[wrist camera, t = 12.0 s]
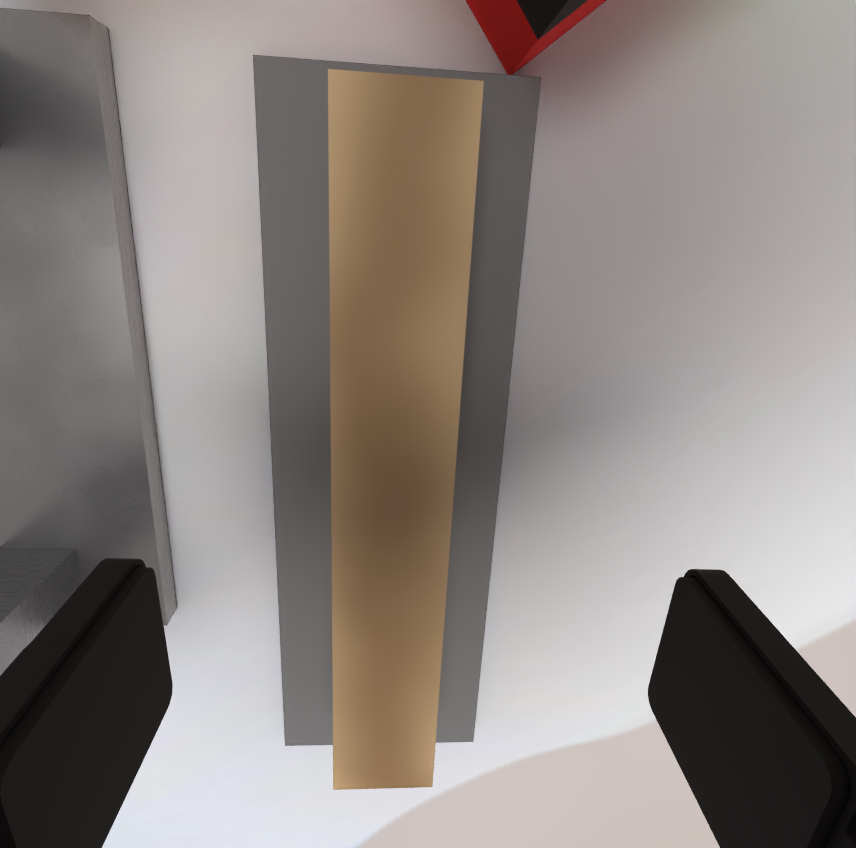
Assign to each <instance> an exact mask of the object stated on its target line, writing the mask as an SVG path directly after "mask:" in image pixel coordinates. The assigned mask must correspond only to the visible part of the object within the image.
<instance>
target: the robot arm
mask: <svg viewBox="0 0 856 848" xmlns="http://www.w3.org/2000/svg"><path fill="white" fill-rule="evenodd" d="M171 696H172V678H171V672H170V665H169V659H168V652H167V646H166V639H165V633H164V626H163V620H162V613H161V607H160V600H159V594H158V587H157V581H156V575H155V571H154V569H153V568H151V567H146V566H145V563H144V562H143V560H141V559H129V558H106V559H103V560H102V561H101V562H100V563H99V564H98V565H97V566H96V567H95V569H94V570H93V571H92V572H91V573H90V574H89V575H88V577H87V578H86V579H85V580H84V581H83V582H82V584H81V585H80V586H79V587H78V588H77V589H76V591H75V592H74V593H73V594H72V595H71V596H70V598H69V599H68V600H67V601H66V602H65V603H64V604H63V606H62V607H61V608H60V609H59V610H58V611H57V613H56V614H55V615H54V616H53V617H52V618H51V620H50V621H49V622H48V623H47V624H46V625H45V627H44V628H43V629H42V630H41V631H40V632H39V633H38V635H37V636H36V637H35V638H34V639H33V640H32V642H31V643H30V644H28V645H27V646H26V647H25V648H24V649H23V650H22V651H21V652H20V654H19V655H18V656H17V657H16V658H15V659H14V661H13V662H12V663H11V664H10V665H9V666H8V668H7V669H6V670H5V671H4V672H3V673H2V674H1V676H0V848H102V846H103V844H104V842H105V840H106V838H107V835H108V833H109V831H110V829H111V827H112V825H113V823H114V821H115V819H116V816H117V814H118V812H119V810H120V808H121V806H122V804H123V802H124V800H125V797H126V795H127V793H128V791H129V789H130V787H131V785H132V783H133V781H134V778H135V776H136V774H137V772H138V770H139V768H140V766H141V764H142V762H143V759H144V757H145V755H146V753H147V751H148V749H149V747H150V745H151V743H152V740H153V738H154V736H155V734H156V732H157V730H158V728H159V726H160V724H161V721H162V719H163V717H164V715H165V713H166V711H167V709H168V706H169V704H170V700H171ZM648 697H649V703H650V706H651V709H652V711H653V713H654V715H655V717H656V719H657V721H658V723H659V725H660V727H661V729H662V731H663V733H664V735H665V737H666V739H667V741H668V743H669V745H670V747H671V749H672V751H673V754H674V755H675V758H676V760H677V762H678V764H679V766H680V768H681V769H682V772H683V774H684V776H685V778H686V780H687V782H688V783H689V786H690V788H691V790H692V792H693V794H694V796H695V798H696V800H697V802H698V804H699V806H700V808H701V810H702V812H703V814H704V816H705V818H706V820H707V822H708V824H709V826H710V828H711V830H712V832H713V834H714V836H715V838H716V840H717V842H718V844H719V846H720V848H856V717H855V716H854V715H853V714H852V713H851V712H850V711H849V710H848V709H847V707H846V706H845V705H844V704H843V703H842V702H841V701H840V699H839V698H838V697H837V696H836V695H835V694H834V693H833V692H832V690H831V689H830V688H829V687H828V686H827V685H826V684H825V683H824V682H823V680H822V679H821V678H820V677H819V676H818V675H817V674H816V672H815V671H814V670H813V669H812V668H811V667H810V666H809V665H808V663H807V662H806V661H805V660H804V659H803V658H802V657H801V656H800V654H799V653H798V652H797V651H796V650H795V649H794V648H793V647H792V645H791V644H790V643H789V642H788V641H787V640H786V639H785V638H784V636H783V635H782V634H781V633H780V632H779V631H778V630H777V629H776V627H775V626H774V625H773V624H772V623H771V622H770V621H769V620H768V618H767V617H766V616H765V615H764V614H763V613H762V612H761V611H760V609H759V608H758V607H757V606H756V605H755V604H754V603H753V602H752V600H751V599H750V598H749V597H748V596H747V595H746V594H745V593H744V591H743V590H742V589H741V588H740V587H739V586H738V585H737V584H736V582H735V581H734V580H733V579H732V578H731V577H730V576H729V575H728V574H727V573H726V572H725V571H722V570H703V569H691V570H688V571H687V572H686V574H685V576H684V577H681V578H679V579H678V580H677V581H676V584H675V587H674V591H673V595H672V599H671V603H670V606H669V610H668V614H667V618H666V622H665V625H664V629H663V633H662V637H661V641H660V645H659V648H658V652H657V656H656V660H655V664H654V667H653V671H652V675H651V679H650V683H649V687H648Z"/></svg>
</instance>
